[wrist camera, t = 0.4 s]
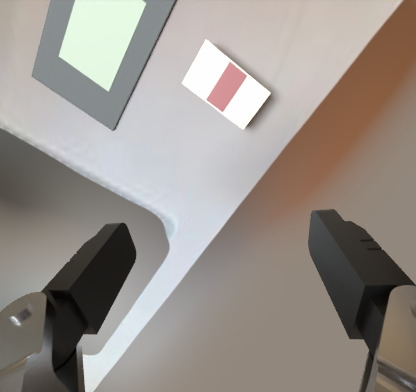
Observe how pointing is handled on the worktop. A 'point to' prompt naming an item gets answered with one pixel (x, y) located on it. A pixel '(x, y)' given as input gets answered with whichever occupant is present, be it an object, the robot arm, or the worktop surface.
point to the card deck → (225, 85)
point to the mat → (98, 51)
